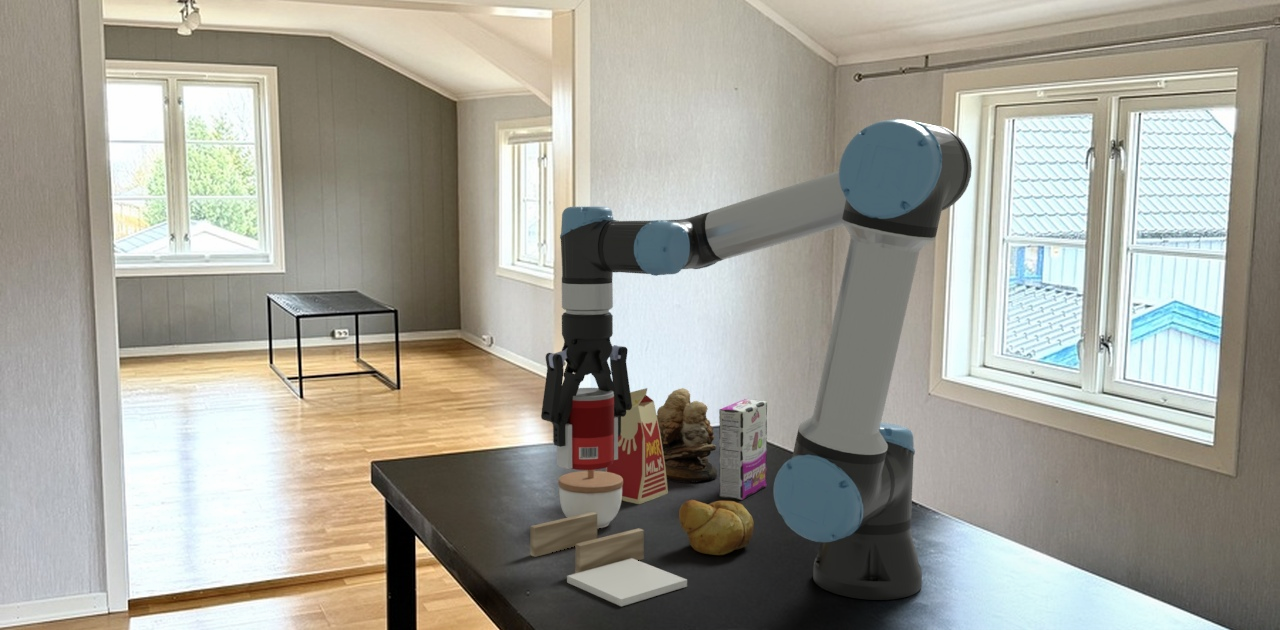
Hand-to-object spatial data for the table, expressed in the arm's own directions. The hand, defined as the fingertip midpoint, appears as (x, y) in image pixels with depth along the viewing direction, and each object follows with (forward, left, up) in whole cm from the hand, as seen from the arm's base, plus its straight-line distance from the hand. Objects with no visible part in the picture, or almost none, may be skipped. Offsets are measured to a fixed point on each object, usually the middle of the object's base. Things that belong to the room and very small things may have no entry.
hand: (587, 462), depth 170 cm
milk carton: (+22, -28, -15) cm, 39 cm away
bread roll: (-9, -19, -15) cm, 26 cm away
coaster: (-13, +3, -15) cm, 20 cm away
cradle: (0, 0, -15) cm, 15 cm away
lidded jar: (+13, -11, -15) cm, 23 cm away
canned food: (0, 0, -1) cm, 1 cm away
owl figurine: (+28, -46, -15) cm, 56 cm away
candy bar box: (+11, -45, -15) cm, 49 cm away
